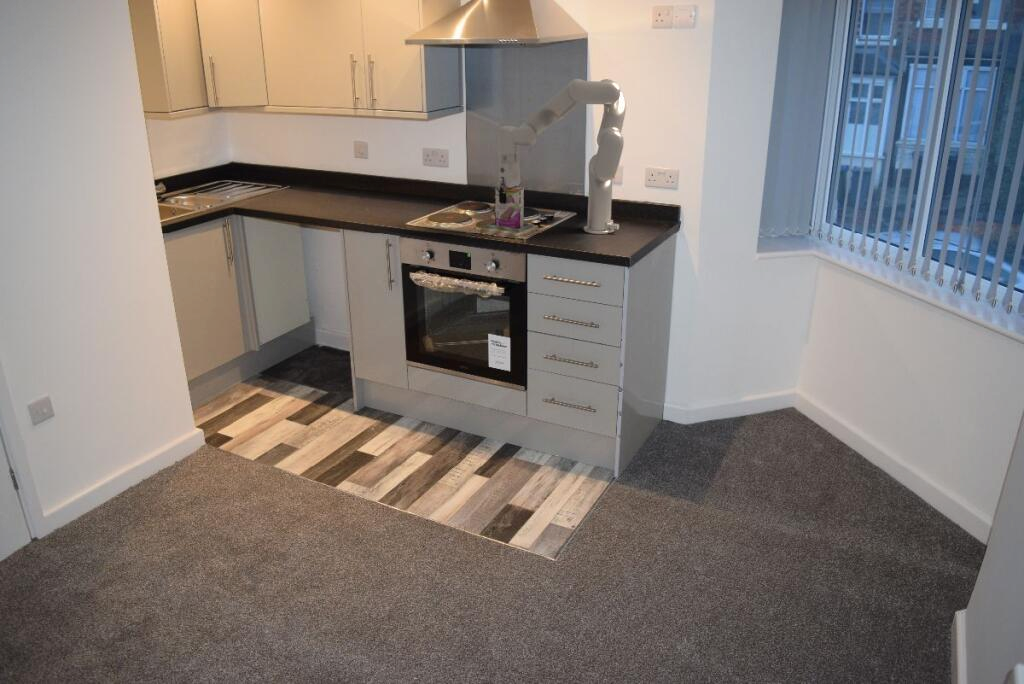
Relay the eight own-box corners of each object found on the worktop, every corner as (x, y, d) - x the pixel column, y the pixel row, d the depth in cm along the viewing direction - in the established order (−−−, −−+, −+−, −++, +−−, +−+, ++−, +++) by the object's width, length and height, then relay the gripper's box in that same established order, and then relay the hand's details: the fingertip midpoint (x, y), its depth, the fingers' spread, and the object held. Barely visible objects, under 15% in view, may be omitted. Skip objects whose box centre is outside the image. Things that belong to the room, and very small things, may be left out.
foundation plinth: (538, 230, 341) (538, 222, 340) (516, 239, 328) (516, 231, 327) (501, 224, 350) (501, 217, 349) (479, 233, 337) (479, 226, 335)
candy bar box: (494, 227, 337) (494, 188, 331) (498, 224, 342) (497, 185, 336) (520, 229, 334) (520, 189, 328) (524, 226, 339) (524, 187, 333)
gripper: (505, 162, 319) (505, 205, 325) (527, 155, 332) (527, 197, 339) (489, 160, 322) (490, 203, 329) (512, 154, 336) (512, 195, 343)
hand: (509, 200), depth 334 cm, fingers open, 9 cm apart
